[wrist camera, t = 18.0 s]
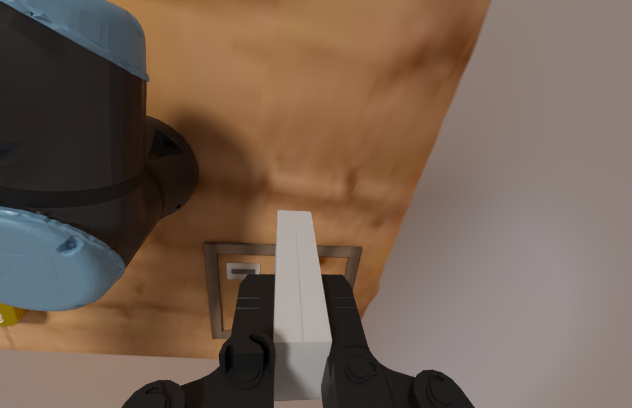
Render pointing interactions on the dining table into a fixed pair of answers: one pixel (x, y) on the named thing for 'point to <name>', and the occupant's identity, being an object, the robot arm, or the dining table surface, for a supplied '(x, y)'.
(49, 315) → the dining table surface
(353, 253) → the label frame
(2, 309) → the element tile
